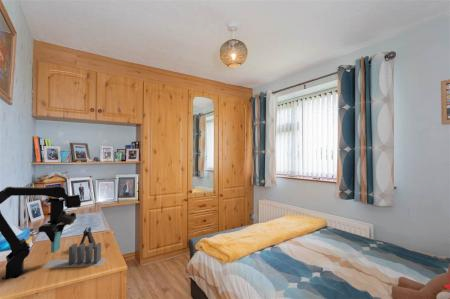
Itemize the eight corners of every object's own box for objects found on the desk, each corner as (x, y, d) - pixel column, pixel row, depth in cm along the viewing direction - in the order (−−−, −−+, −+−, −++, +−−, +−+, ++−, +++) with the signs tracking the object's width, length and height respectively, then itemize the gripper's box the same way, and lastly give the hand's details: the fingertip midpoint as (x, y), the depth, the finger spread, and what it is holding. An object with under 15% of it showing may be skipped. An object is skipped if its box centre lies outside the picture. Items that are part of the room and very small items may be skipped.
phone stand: (76, 251, 135) (77, 230, 135) (79, 247, 140) (80, 227, 140) (94, 249, 138) (94, 229, 138) (96, 245, 143) (96, 226, 143)
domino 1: (54, 252, 117) (54, 234, 117) (50, 252, 117) (51, 234, 117) (60, 248, 122) (60, 231, 122) (56, 248, 122) (57, 231, 122)
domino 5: (96, 263, 119) (97, 246, 120) (93, 264, 119) (93, 246, 119) (100, 259, 124) (101, 242, 124) (97, 259, 124) (97, 242, 124)
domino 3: (80, 264, 118) (80, 247, 119) (76, 264, 118) (77, 247, 118) (84, 260, 123) (85, 243, 123) (81, 260, 123) (82, 243, 123)
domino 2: (71, 264, 118) (72, 247, 118) (68, 265, 118) (69, 247, 118) (76, 260, 123) (77, 243, 123) (73, 260, 123) (74, 243, 123)
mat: (100, 266, 118) (100, 265, 118) (40, 268, 114) (40, 267, 114) (106, 258, 126) (106, 258, 126) (51, 260, 123) (51, 259, 123)
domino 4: (88, 264, 119) (88, 246, 119) (85, 264, 119) (85, 246, 119) (92, 259, 124) (93, 243, 124) (89, 259, 124) (90, 243, 124)
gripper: (63, 214, 111) (62, 247, 111) (82, 205, 130) (81, 233, 130) (38, 214, 110) (36, 247, 110) (60, 205, 129) (59, 233, 128)
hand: (55, 240), depth 119 cm, fingers closed on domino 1, 5 cm apart
